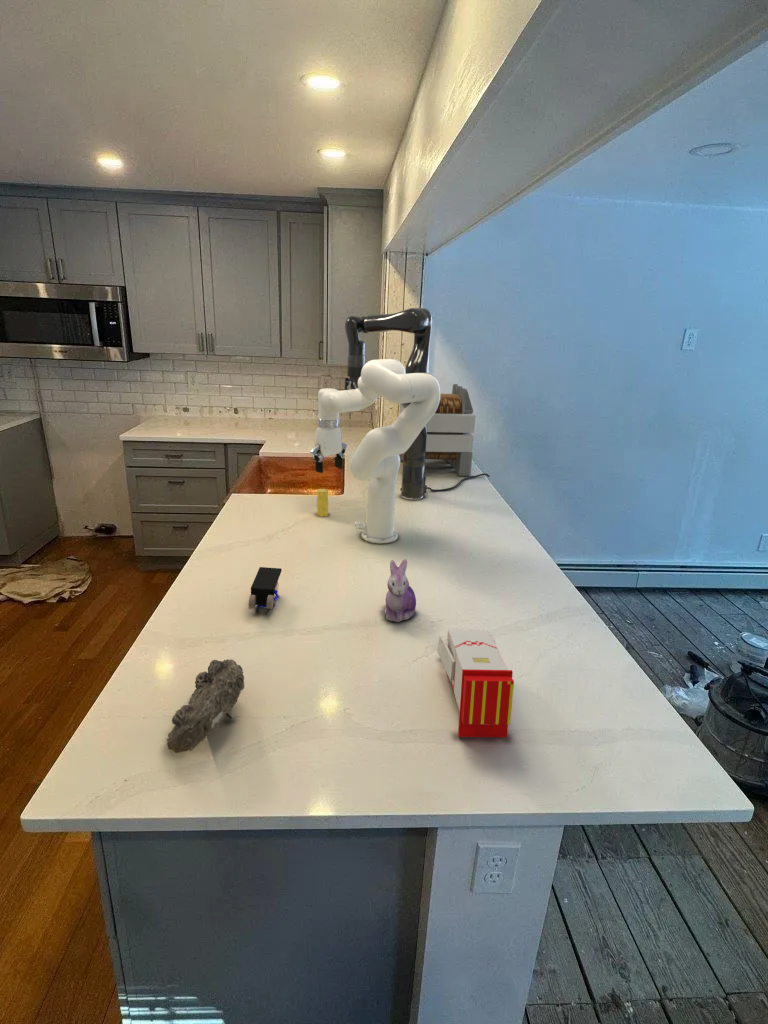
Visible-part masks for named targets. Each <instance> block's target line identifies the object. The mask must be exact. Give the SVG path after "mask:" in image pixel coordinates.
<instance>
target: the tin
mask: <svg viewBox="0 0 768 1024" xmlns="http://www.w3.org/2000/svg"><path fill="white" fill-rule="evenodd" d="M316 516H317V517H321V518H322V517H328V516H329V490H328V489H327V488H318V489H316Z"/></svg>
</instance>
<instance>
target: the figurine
mask: <svg viewBox="0 0 768 1024" xmlns="http://www.w3.org/2000/svg"><path fill="white" fill-rule="evenodd" d="M407 567H408V559H406V558H404V559H403V560H402V561H401V563H400V565H399V566H398V565H397V563H396V562H395V561H394V560H393V559H391V560H390V561H389V570H390V576H389V578H388V579H387V589H388V591H387V592H386V594H385V595H386V596H385V607H384V615H385V616H386V620H387V621H391V622H395V623H400V622H402V621H406V620H409V619H410V618H411V617H413V616H414V615H415V610H416V606H417V597H416V593H415V591H414V590H413V587H411V586H410V582H409V579H408V577H407V574H406V571H407Z"/></svg>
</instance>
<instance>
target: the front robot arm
mask: <svg viewBox="0 0 768 1024" xmlns="http://www.w3.org/2000/svg"><path fill="white" fill-rule="evenodd" d="M405 370H406V367H405V366H404V364H403V363H402V362H401V361H399V360H397V359H393V358H383V359H370V360H369V361H367V362H365V365H364V366H363V368H362V371H361V376H360V377H359V379H358V388H357V389H354V390H345V389H342V390H338V389H337V388H333V387H332V388H330V387H328V388H327V387H326V388H324V387H323V388H320V389H319V390H318V392H317V406H318V407H317V412H318V413H317V415H318V417H317V419H318V420H317V421H318V424H317V426H318V427H316V429H315V435H314V447H313V448H312V449H311V450H310V451H309V453H310V455H311V459H313V461H314V462H315V472H316V473H320V474H323V472H324V462H323V459H324V458H325V457H329V456H334V455H335V456H334V467H335V468H338V469H342V468H343V458H344V455H345V453H346V450H347V447H348V444H347V443H345V442H344V441H343V437H342V429H341V426H340V423H341V418H340V414H344V413H345V414H346V413H350V412H351V413H352V412H358V411H362V410H364V409H366V408H368V407H370V406H371V405H373V404H375V402H376V401H377V399H378V397H379V396H380V397H381V398H383V399H385V400H386V401H389V402H390V403H393V404H399V405H400V404H403V403H411V404H409V405H408V406H407V407H406V408H405V409H404V410H403V411H402V412H401V413H400V414H399V413H398V416H397V417H396V419H395V420H394V421H393V423H390V424H389V425H386V426H380V427H376V428H373V429H371V430H369V431H367V433H366V434H365V436H364V437H363V439H362V440H361V442H360V443H359V444H358V446H357V448H356V450H355V451H354V453H353V454H352V457H351V459H350V463H349V469H350V472H351V474H352V476H353V477H354V478H355V479H356V480H359V481H368V483H367V484H368V485H367V491H366V519H365V520H366V521H364V522H362V521H355V522H354V527H355V529H356V530H361V534H360V535H361V538H362V539H363V540H364V541H366V542H368V543H373V544H389V543H393V542H395V541H397V540H398V537H399V534H398V532H397V531H396V530H395V528H394V527H395V510H396V509H395V508H396V507H395V506H396V494H397V493H396V492H397V481H398V475H399V471H400V467H401V461H400V457H399V455H400V454H403V453H405V452H406V451H407V450H408V449H409V447H410V446H411V445H412V443H413V442H414V440H415V439H416V438H417V436H418V435H419V434H420V432H421V431H422V429H423V428H424V426H425V425H426V424H427V423H428V422H429V420H430V419H431V418H432V416H433V415H434V413H435V412H436V410H437V408H438V405H439V402H440V394H441V387H440V383H439V382H438V379H437V378H436V377H435V376H433V375H432V374H426V373H409V374H405V373H406V372H405Z"/></svg>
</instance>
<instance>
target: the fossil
mask: <svg viewBox="0 0 768 1024" xmlns="http://www.w3.org/2000/svg"><path fill="white" fill-rule="evenodd" d="M243 670H244V669H243V667H242V665H240V664H237V662H236V661H235V660H234V659H232V658H231V659H227V658H226V659H224V660H223V661H222V660H217V659H212V660H211V661H210V663H209V665H208V666H207V671H201V672H199V673H198V674H197V675H196V676H195V680H194V684H195V685H194V687H195V689H194V690H193V693H192V694H191V697H190V698H189V700H188V704H184V705H182V706H181V707H180V709H177V710H176V711H175V713H174V715H173V716H172V718H171V723H172V724H173V727H172V730H171V731H170V732H168V734H167V738H166V741H167V742H166V745H167V749H168V750H169V751H173V752H174V753H176V754H178V753H182V752H188V751H189V752H192V751H193V750H195V748H196V747H197V746H199V744H200V743H201V742H203V741H204V740H205V739H206V738H207V737H208V736H209V735H210V734H211V733H212V732H214V730H215V729H217V727H218V726H219V724H220V722H221V721H222V720H223V719H224V718H225V716H226V717H227V719H229V720H233V717H232V715H230V714H229V710H230V709H231V708H234V706H235V704H236V703H237V702H238V699H239V697H240V695H241V693H242V691H243V690H245V689H244V688H245V675H244V671H243Z"/></svg>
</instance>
